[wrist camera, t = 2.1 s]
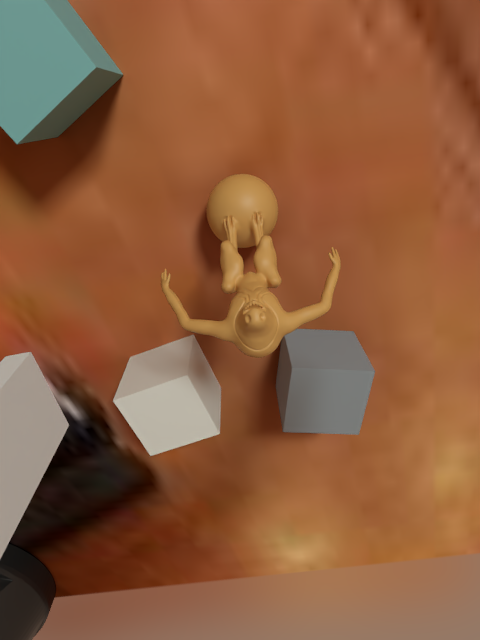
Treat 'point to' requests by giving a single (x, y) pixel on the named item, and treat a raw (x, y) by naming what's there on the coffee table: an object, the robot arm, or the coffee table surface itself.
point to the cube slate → (322, 382)
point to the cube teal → (48, 68)
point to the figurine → (252, 294)
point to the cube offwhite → (170, 396)
